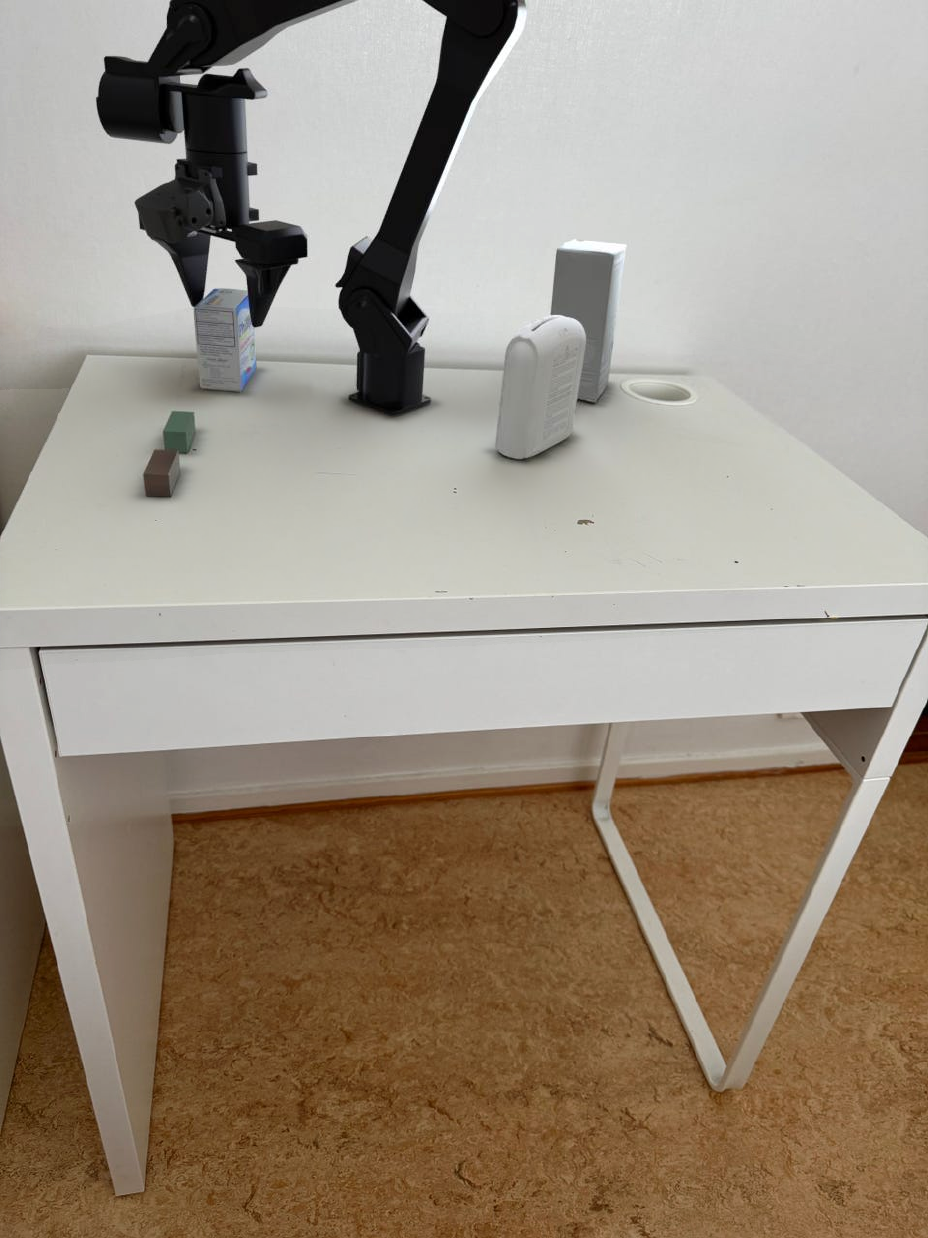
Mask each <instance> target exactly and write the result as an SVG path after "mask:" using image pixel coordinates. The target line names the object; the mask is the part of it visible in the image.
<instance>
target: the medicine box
mask: <svg viewBox="0 0 928 1238" xmlns="http://www.w3.org/2000/svg"><path fill="white" fill-rule="evenodd" d="M193 322H194V334H195V335H194V336H195V343H196V356H197V367H198V379H199V386H200V388H201V389H202V390H203V389H204V390H210V391H211V390H213V391H225V392H234V393H235V392H237V393H241V392H242V391H243V390H244V387H245V386H246V385H247V383H248V382H249V380H250V378H251V377H252V375H253V374H254V373H255V371H256V369H257V350H256V349H257V348H256V346H257V345H256V329H255V327H253V326H252V323H251V318H250V312H249V301H248V291H247V289H237V288H227V287H226V288H225V287H224V288H223V287H221V288H218V287H217V288H213V289H212V290H210V292H209V293H208V294H207V295H205V296H204V297H203V299H202V300H201V301H200V302H199V303H198V304H197V305H196V306H195V307H193Z"/></svg>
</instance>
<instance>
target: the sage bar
mask: <svg viewBox="0 0 928 1238" xmlns="http://www.w3.org/2000/svg"><path fill="white" fill-rule="evenodd" d="M195 418H196V417H195V412H194V411H185V410H184V411H181V410H172V411H171V413H170V415H169V417H168V418H167V421H166V423H165V425H164V428H163V430H162V437H163V448H164V450H178V452H179V453H183V454H185V453H186V454H187V453H189V450H190V448H191V445H192V443H193V440H194V437H195V435H196V420H195Z"/></svg>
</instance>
